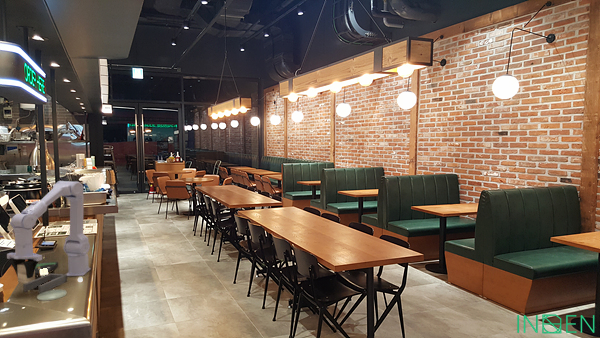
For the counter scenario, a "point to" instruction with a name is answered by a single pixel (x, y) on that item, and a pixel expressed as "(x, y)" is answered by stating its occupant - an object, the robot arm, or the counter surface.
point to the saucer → (51, 295)
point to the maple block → (23, 274)
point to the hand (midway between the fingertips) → (25, 277)
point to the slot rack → (55, 281)
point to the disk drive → (49, 266)
